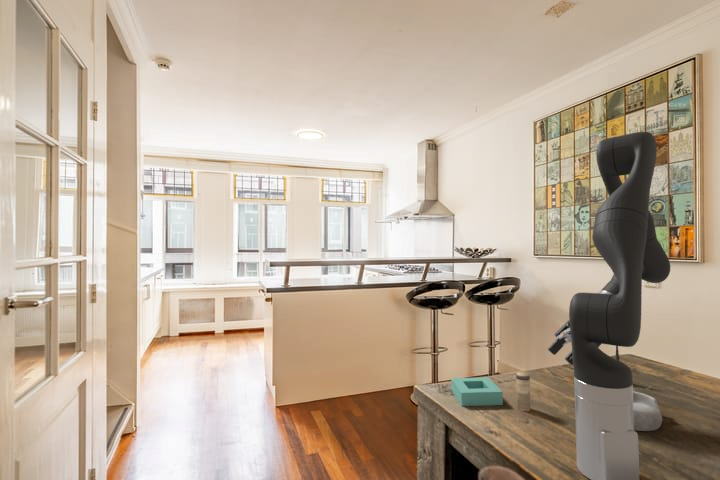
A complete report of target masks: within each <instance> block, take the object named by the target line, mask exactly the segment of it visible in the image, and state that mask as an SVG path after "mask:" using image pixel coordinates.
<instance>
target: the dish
mask: <svg viewBox="0 0 720 480" xmlns="http://www.w3.org/2000/svg"><path fill="white" fill-rule="evenodd" d="M633 410H634V431H635V432H652V431H656V430H658V429H659V428H660V427H661V426H662V423H663V417H662V414H661V411H660V408H659V404H658V401H657V399H656V398H655V397H653V396H650V395H648V394H646V393H642V392H639V391H633Z"/></svg>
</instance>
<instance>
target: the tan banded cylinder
mask: <svg viewBox="0 0 720 480" xmlns="http://www.w3.org/2000/svg"><path fill="white" fill-rule="evenodd" d="M515 378H516V379H515V381H516V382H515V383H516V408H517V410H519V411H522V412H530V411H531V410H532V408H531V385H530V384H531V375H530V373H529V372H526V371H517V372H516V373H515Z"/></svg>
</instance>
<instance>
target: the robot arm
mask: <svg viewBox="0 0 720 480" xmlns="http://www.w3.org/2000/svg"><path fill="white" fill-rule="evenodd" d="M657 149H658V147H657V141H656V138H655V136H654V135H653V134H652V133H651V132H649V131H637V132H632V133H628V134H622V135H617V136H612V137H609V138H605V139H602V140H600V141H599V143H598V144H597V147H596V152H595V153H596V154H595V155H596V164H597V167H598V171H599V174H600V176H601V180H602V182H603V184H604V187H605V189H606V193H607V194H608V197H607V198H606V199H605V200H604V201H603V202H602V203H601V205H600V206H599V207H598V209H597V211H596V213H595V216H594V222H593V229H592V235H591V237H592V242H593V244H594V247H595V249H596V250H597V252H598V253H599V255H600V256H601V257H602V259H603V260H604V262H606V264H607V265H608V267H610V270H612V273H613V275H612V276H611V279H610V280H609V281H608V282H607V283H606V284H605V285H604V286H603V288H602V289H600V291H598V293H597V292H596V293H594V292H577V293H576V294H574V295H573V296H572V297H571V300H570V302H569V308H568V311H569V313H568V316H569V318H568V320H567V321H566V322H565V323H564V324H563V325H562V326H561V327H559V329H557V330H556V332H555V333H554V335H553V336H555V338H556V339H555V340H554V342H552V344H551V345H550V346H549V347H548V348H547V350H548V352H550V353H551V354H552V355H554V356H555V355H557V353H559V351H561V349H562V348H563V347H564V346H565V345H566V344H570V343H571V351H570V352H569V353H568V354H567V355H566V356H565V357H564V360H565V361H566V362H567V363H568V364H570V365H573V379H574V380H573V381H574V384H573V385H574V419H575V420H574V423H575V444H576V447H575V449H576V468H577V470H578V471H579V472H580V473H581V474H582V475H583V476H584V477H586V478H587V479H589V480H640V460H639V433H637V432H638V431H636V430H634V410H633V388H634V385H633V382H634V381H633V380H634V379H633V378H634V377H633V371H632V369H631V368H630V367H629V366H628V364H625V363H624V362H622V361H620V360H619V361H618V360H616V358H614V357H612V356H610V355H608V354H607V353H605V352H604V351H602V350H601V349H600V348H599V347H600V346H601V345H602V344H603V345H608V346H615V347H616V346H618V347H623V348H624V347H625V348H628V347H629V348H632V347H634V346H635V345H636V344H637V342H638V341H639V339H640V334H641V330H642V329H641V328H642V326H641V325H642V292H643V291H642V288H643V287H642V284H643V283H642V281H644V282H648V283H650V284H651V283H652V284H659V283H662V282H664V281H665V280H666V279H667V278H668V277H669V275H670V272H671V262H670V259H669V257H668V255H667V253H666V251H665V250H664V248H663V245H662V244H661V242H660V241H659V239H658V237H657V231H656V226H655V220H654V217H653V215H652V213H651V212H650V210H649V209H650V208H649V207H650V195H651V193H650V192H651V187H652V182H653V177H654V172H655V166H656V161H657V151H658V150H657ZM627 175H628V176H627ZM620 176H627V178H626V179H625V180H624V181H622V180H621V177H620Z"/></svg>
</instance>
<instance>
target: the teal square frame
mask: <svg viewBox="0 0 720 480" xmlns="http://www.w3.org/2000/svg"><path fill="white" fill-rule="evenodd" d="M450 381H451V382H450V383H451V384H450V385H451V388H450V389H451V392H452V393H453V395H454V396H455V398H456V400H457V401H458V403H459V404H460V406H461V407H475V406H477V407H478V406H503V405H504V401H503V400H504V399H503V398H504V396H503V391H502V390H501V388H499V387H498V386H497V385H496V384H495V382H494V381H493V380H492V379H490V378H489V376H488V377H457V378H455V377H451V378H450Z"/></svg>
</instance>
